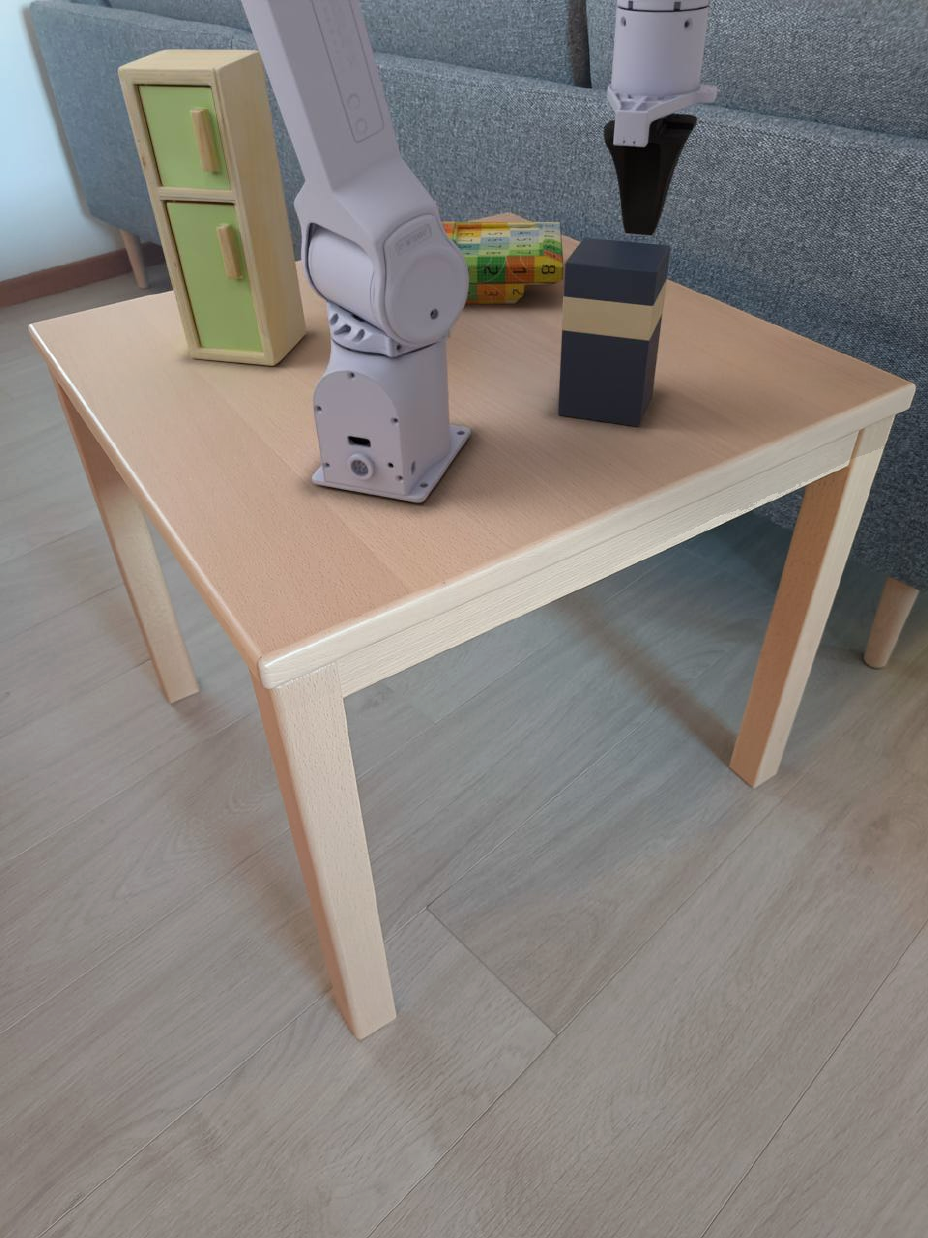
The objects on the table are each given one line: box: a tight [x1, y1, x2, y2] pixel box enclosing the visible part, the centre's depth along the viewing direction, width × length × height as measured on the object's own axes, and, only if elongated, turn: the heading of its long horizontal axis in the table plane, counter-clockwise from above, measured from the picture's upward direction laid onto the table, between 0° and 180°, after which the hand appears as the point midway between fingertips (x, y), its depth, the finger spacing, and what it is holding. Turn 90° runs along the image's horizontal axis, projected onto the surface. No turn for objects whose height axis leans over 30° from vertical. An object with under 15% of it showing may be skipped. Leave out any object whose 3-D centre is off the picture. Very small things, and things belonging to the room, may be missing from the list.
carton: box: [557, 237, 671, 427], centre depth 62 cm, size 5×6×11 cm
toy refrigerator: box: [117, 48, 307, 367], centre depth 68 cm, size 8×7×21 cm
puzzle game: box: [441, 221, 565, 305], centre depth 83 cm, size 12×5×20 cm
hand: (640, 231), depth 65 cm, fingers closed
